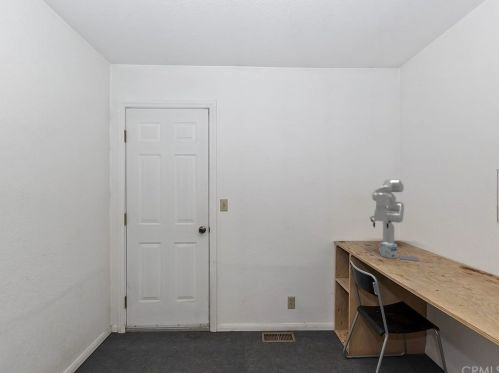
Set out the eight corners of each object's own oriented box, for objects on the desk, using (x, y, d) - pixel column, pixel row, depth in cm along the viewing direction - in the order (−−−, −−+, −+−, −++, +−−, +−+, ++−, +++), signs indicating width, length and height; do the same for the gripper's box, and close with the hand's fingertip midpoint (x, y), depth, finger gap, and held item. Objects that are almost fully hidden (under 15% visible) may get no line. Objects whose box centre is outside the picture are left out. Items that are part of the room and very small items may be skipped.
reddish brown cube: (377, 251, 235) (377, 244, 235) (384, 251, 233) (384, 245, 233) (376, 252, 230) (376, 246, 230) (384, 253, 228) (384, 246, 228)
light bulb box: (397, 258, 214) (397, 244, 214) (391, 259, 211) (391, 245, 211) (386, 254, 224) (386, 241, 223) (379, 255, 221) (379, 242, 221)
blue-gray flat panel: (399, 255, 221) (399, 255, 221) (416, 257, 215) (416, 256, 215) (400, 259, 210) (400, 258, 210) (418, 261, 205) (418, 260, 205)
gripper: (392, 207, 231) (392, 228, 231) (369, 206, 238) (369, 226, 239) (392, 208, 224) (392, 229, 224) (369, 207, 232) (369, 227, 232)
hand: (380, 227), depth 231 cm, fingers open, 9 cm apart
